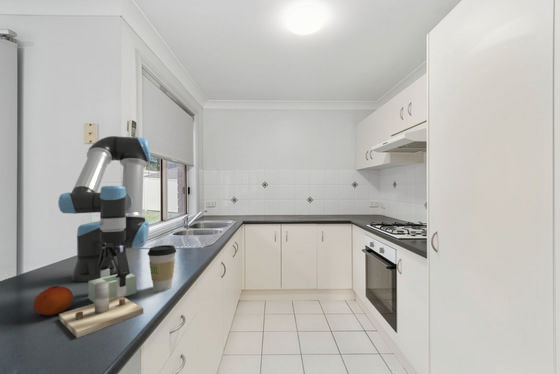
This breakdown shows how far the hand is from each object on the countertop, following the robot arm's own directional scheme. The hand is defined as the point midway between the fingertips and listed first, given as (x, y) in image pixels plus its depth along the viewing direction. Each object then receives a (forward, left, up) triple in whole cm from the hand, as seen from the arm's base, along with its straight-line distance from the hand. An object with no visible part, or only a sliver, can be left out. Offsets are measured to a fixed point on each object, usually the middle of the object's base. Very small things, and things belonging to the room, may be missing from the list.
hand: (112, 292), depth 90 cm
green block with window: (0, 0, -2) cm, 2 cm away
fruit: (-1, -15, -2) cm, 15 cm away
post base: (+14, -8, -2) cm, 16 cm away
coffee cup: (+7, +14, -2) cm, 16 cm away
